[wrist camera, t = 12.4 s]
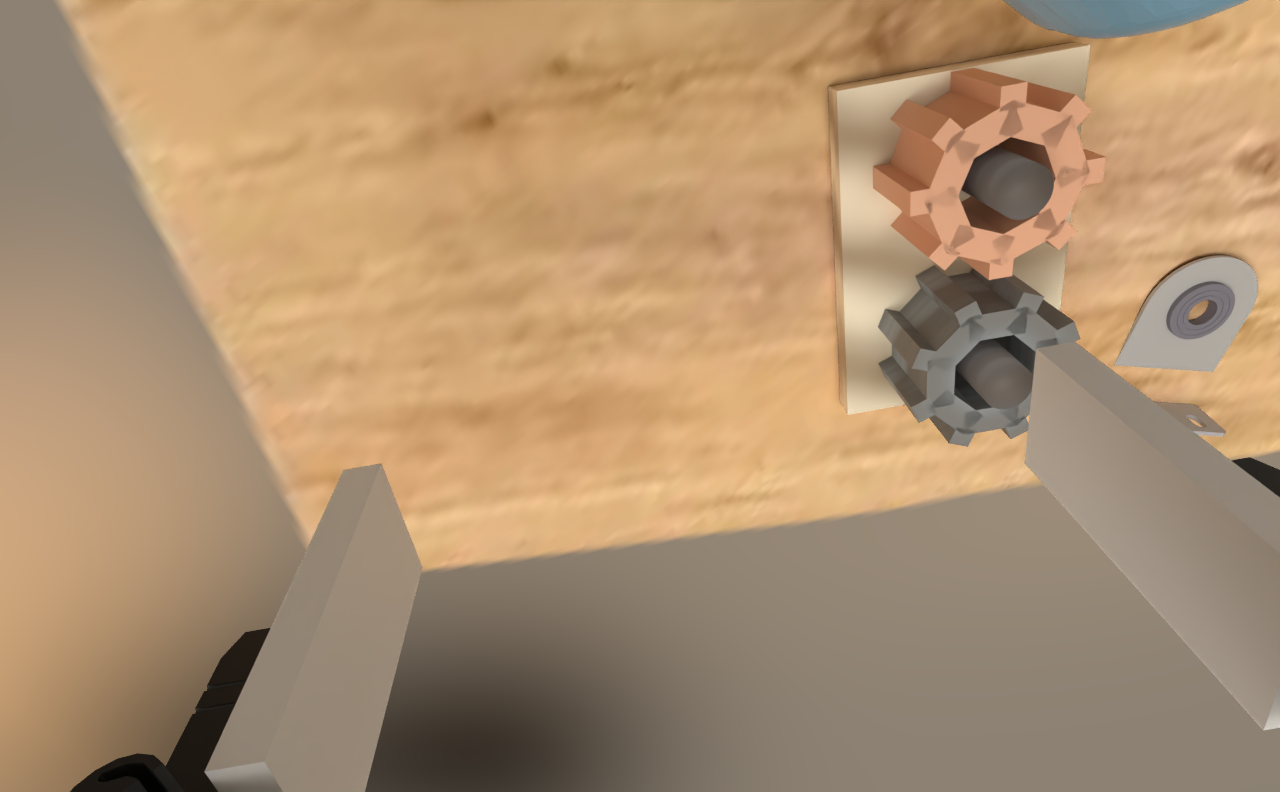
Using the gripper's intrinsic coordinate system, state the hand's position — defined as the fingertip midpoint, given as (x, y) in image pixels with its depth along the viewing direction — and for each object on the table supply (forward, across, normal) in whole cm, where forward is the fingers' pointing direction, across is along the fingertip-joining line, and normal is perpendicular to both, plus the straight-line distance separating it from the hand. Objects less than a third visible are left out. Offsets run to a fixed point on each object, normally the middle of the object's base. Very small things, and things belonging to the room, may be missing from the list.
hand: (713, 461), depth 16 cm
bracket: (+27, +30, -16) cm, 44 cm away
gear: (+25, +16, -2) cm, 30 cm away
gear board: (+27, +16, -7) cm, 32 cm away
